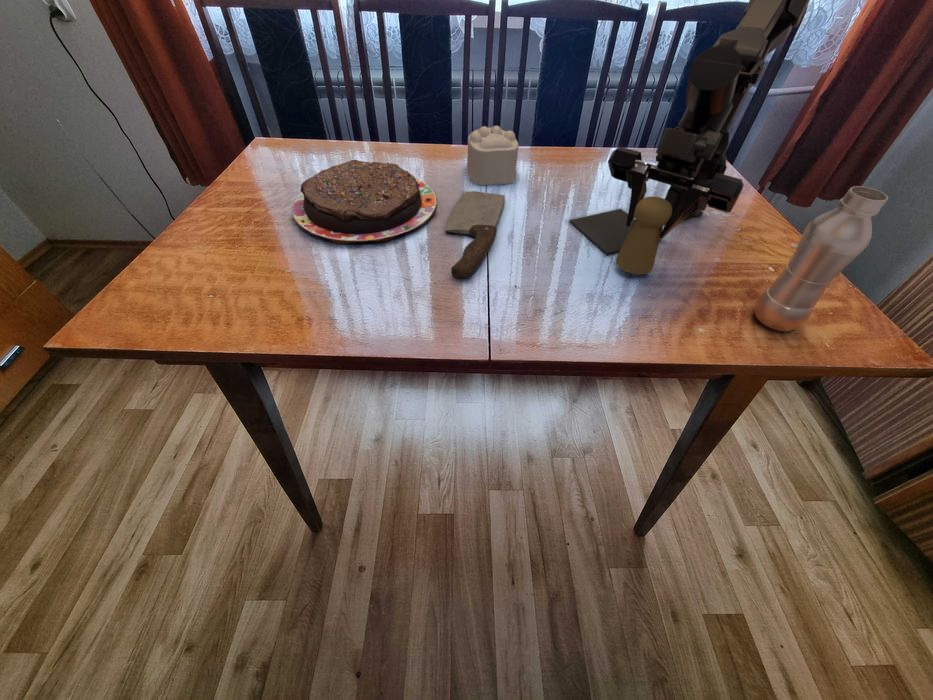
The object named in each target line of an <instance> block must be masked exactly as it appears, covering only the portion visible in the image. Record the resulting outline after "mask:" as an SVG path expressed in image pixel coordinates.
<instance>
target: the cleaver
mask: <svg viewBox="0 0 933 700" xmlns="http://www.w3.org/2000/svg"><path fill="white" fill-rule="evenodd" d="M505 198H506V197H505V194H500V193H490V192H484V191H476V190H475V191H474V190H473V191H465V192H464V193H463V194H462V195H461V197H459V199H458V201H457V202H456V203H455V204H454V206H453V208H452V210H451V212H450V213H449V216H448V219H447V222H446V226H445V229H444V232H449V233H454V234H461V235H469V236H470V237H472V238H474V239H473V240H471V242H469V243H468V244H467V245H466V246H465V247H464V249H463V252H462V256H461V258H460V259H459V260H458V261H457V262H456V263H455V264H454V265H453V266H452V267H451V269H450V271H451V273H450V274H452V276H454V277H457V278H461V279H469V278H470V277H471V276H472V275H473V274H474V273H475V272H476V270H477V269H478V268H479V266H480V265H481V263H483V261H484V259H485V257H486V256H487V254H488V252H489V251H490V250H491V247H492V245H493V243H494V241H495V239H496V235H497V231H498V229H497V226H498V223H499V220H500V218H501V216H502V214H503V213H502V212H503V209H504V207H505V201H506V200H505Z"/></svg>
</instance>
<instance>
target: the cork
mask: <svg viewBox="0 0 933 700" xmlns="http://www.w3.org/2000/svg"><path fill="white" fill-rule="evenodd" d="M671 215H672V206H671V204H670V203H669V202H668V201H667V200H665V198H663V197H659V196H645V197H644V198H643V199H642V200H641V201H640V202H638V204H637V205H636V208H635V212H634V216H635V218H634V219H635V221H634V223H633V225H632V227H631V229H630V231H629V233H628V235H627V237H626V239H625V241H624V243H623V245H622V247H621V249H620V251H619V252H617V253H618V254H617V255H616V257H615V264H616V265H617V267H618V268H619V269H621V270H622V271H624V272H626V273H628V274H632V275H646V274H649V273H651V272H652V270H653V269H654V266H655V265H654V264H655V260H656V257H657V252H658V250H659V249H658V248H659V244H660V242H659V240H660V238H659V236H660V234H661V232H662V230H663V228H664V226H665V225H666V223H667V222H668V220H669V219H670V217H671Z"/></svg>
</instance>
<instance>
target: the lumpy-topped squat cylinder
mask: <svg viewBox="0 0 933 700" xmlns="http://www.w3.org/2000/svg"><path fill="white" fill-rule="evenodd" d="M518 155H519V141H518V140H517V137H516V134H515V132H514V131H512V130H507V131H506V130H503V129H502V128H501V127H500V126H499V125H493V126H491V127H488V126H486V125H483V126H481V127H480V128H478V129H476V130H473V131H472V132H471V133H470V134H469V135H468V137H467V161H466V162H467V163H466V164H467V166H466V167H467V169H466V170H467V175H468V177H469V179H470V180H471V181H472V182H473V183H474V184H476V185H479V186H491V185H509V184H512V183H514V182H515V180H516V173H517V164H518Z"/></svg>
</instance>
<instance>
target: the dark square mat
mask: <svg viewBox="0 0 933 700" xmlns="http://www.w3.org/2000/svg"><path fill="white" fill-rule="evenodd" d="M627 217H628V212H626V211H625V210H623V209H622V208H618V209H614V210H609V211H605V212H600V213H596V214H592V215H586V216H582V217H578V218H573V219H570V220H569V223H570V224H571V225H572V226H573V227H575V229H576V230H578V231H579V232H580V233H581V234H582V235H583V236H584V237H585V238H587V239H588V240H589V241H590V242H591V243H592V244H593V245H594V246H596V247H597V248H598V249H599V250H600V251H601V252H602V253H603V254H604V255H605V256H608V255H613V254H617V253H619V251H620V249H621V247H622V245H623V243H624V241H625V239H626V237H627V235H628V233H629V231H630V229H631V227H632V225H633V223H634V221H635V218H634V220H633V222H632V223H631V225H630V227H627V226H626V223H627ZM661 241H662V239H660V240H659V243H660V242H661Z"/></svg>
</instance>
